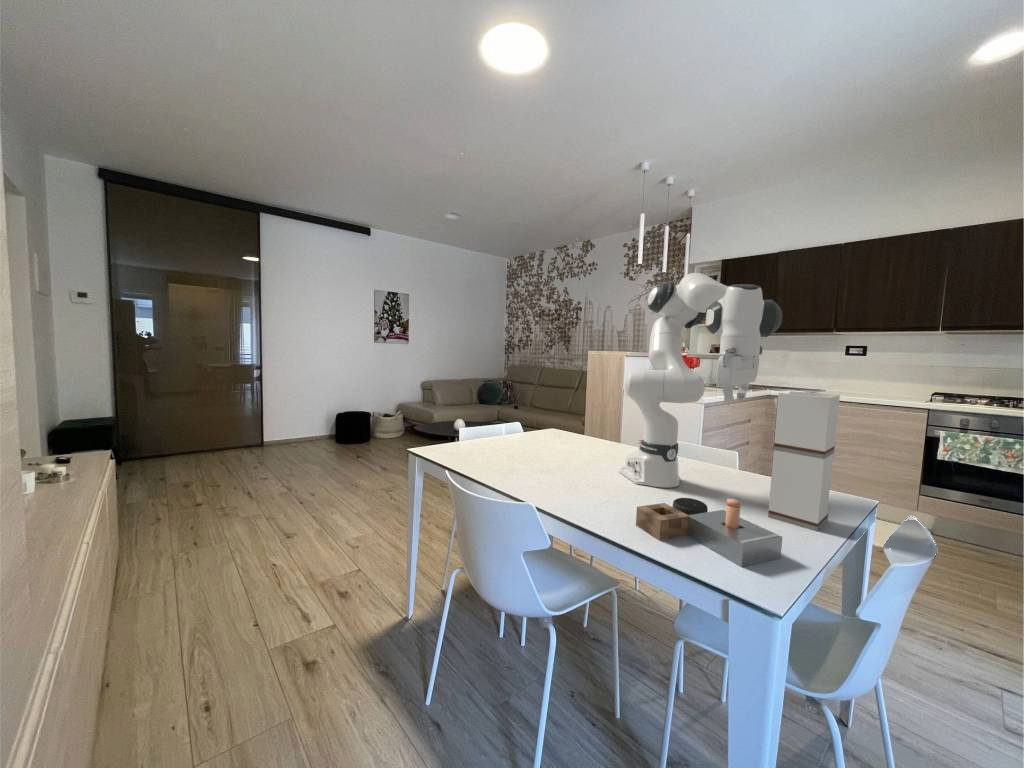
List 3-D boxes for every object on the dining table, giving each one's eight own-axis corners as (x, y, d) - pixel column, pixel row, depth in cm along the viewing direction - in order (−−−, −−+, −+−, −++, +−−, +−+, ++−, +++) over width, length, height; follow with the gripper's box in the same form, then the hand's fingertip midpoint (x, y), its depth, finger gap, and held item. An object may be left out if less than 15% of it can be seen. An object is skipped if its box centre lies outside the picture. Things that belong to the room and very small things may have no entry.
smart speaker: (689, 508, 121) (690, 495, 121) (714, 520, 113) (715, 506, 113) (665, 512, 118) (666, 498, 118) (689, 525, 110) (690, 510, 109)
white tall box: (827, 520, 115) (839, 395, 111) (817, 531, 108) (830, 397, 104) (780, 508, 123) (790, 391, 120) (767, 517, 116) (778, 393, 113)
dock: (685, 534, 103) (686, 514, 103) (721, 528, 108) (723, 509, 107) (741, 567, 89) (743, 543, 88) (780, 558, 93) (782, 535, 92)
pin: (721, 545, 98) (725, 500, 97) (725, 541, 100) (729, 497, 99) (734, 549, 96) (738, 504, 95) (738, 545, 98) (742, 501, 97)
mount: (635, 525, 108) (636, 506, 108) (663, 520, 112) (664, 502, 111) (659, 540, 100) (660, 520, 100) (688, 535, 103) (689, 516, 103)
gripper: (739, 349, 97) (734, 407, 98) (764, 348, 111) (760, 399, 112) (711, 348, 101) (707, 404, 103) (739, 347, 115) (735, 396, 117)
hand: (735, 401), depth 108 cm, fingers open, 8 cm apart
